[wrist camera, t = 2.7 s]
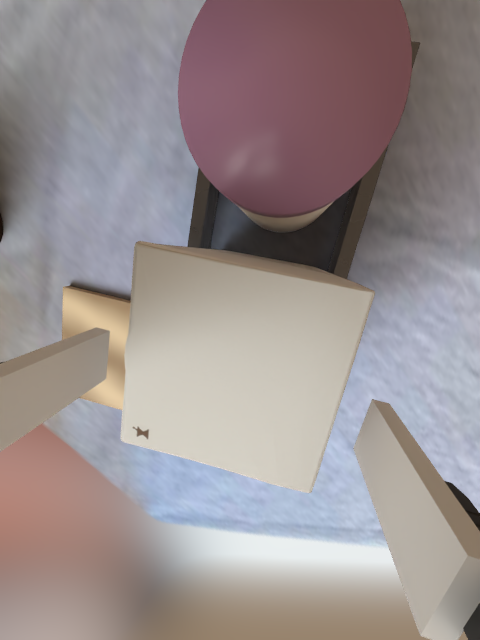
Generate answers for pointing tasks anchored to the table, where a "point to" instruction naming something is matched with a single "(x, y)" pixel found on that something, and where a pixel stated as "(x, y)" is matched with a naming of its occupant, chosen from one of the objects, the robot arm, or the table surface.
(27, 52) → the table surface
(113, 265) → the table surface
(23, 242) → the table surface
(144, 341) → the supplement box
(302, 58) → the cream lidded canister
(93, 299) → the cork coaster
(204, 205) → the grey tray
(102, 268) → the table surface
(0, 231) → the coffee mug
